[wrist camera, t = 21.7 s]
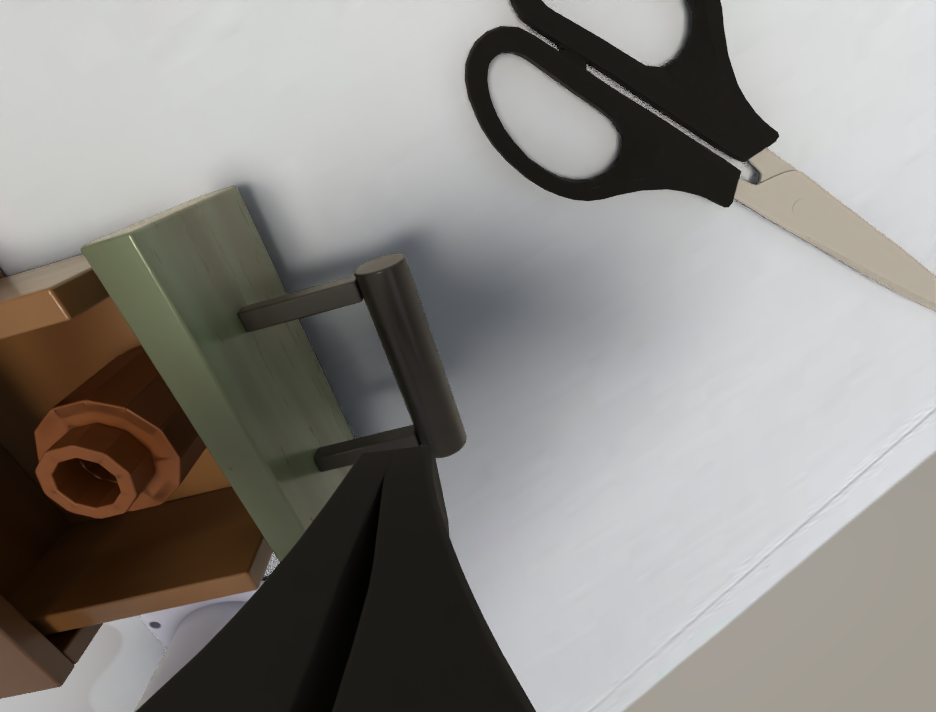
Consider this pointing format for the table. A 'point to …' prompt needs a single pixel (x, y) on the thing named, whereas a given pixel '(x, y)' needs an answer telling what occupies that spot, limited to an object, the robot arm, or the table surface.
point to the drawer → (193, 409)
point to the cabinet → (36, 651)
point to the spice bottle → (116, 441)
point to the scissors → (684, 137)
